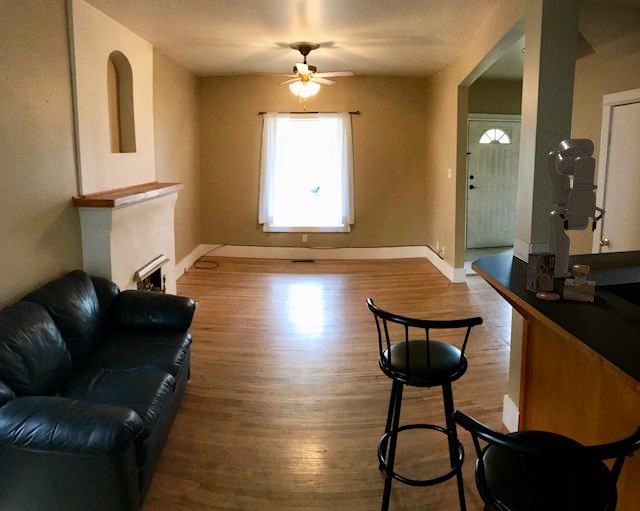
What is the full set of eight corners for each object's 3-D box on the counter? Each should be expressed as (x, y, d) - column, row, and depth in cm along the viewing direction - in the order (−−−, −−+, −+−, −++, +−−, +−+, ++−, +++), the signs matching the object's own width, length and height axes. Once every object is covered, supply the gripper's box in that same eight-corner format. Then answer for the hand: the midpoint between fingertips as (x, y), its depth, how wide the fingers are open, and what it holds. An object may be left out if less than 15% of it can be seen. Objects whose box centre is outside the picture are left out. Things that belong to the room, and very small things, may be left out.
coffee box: (543, 287, 226) (546, 251, 223) (553, 290, 220) (556, 254, 217) (525, 288, 224) (528, 253, 220) (535, 292, 218) (538, 255, 214)
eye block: (564, 292, 217) (566, 278, 216) (594, 295, 212) (595, 281, 211) (562, 298, 208) (564, 284, 207) (593, 302, 203) (594, 287, 202)
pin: (571, 294, 214) (573, 264, 212) (587, 296, 211) (590, 265, 209) (570, 297, 209) (572, 266, 206) (586, 299, 206) (589, 268, 204)
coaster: (537, 293, 216) (537, 291, 216) (561, 296, 212) (561, 293, 212) (535, 298, 208) (535, 296, 208) (559, 301, 204) (559, 299, 204)
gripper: (607, 188, 203) (604, 231, 206) (560, 187, 212) (557, 228, 215) (607, 188, 197) (603, 232, 200) (558, 188, 206) (555, 230, 208)
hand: (579, 230), depth 207 cm, fingers open, 9 cm apart
